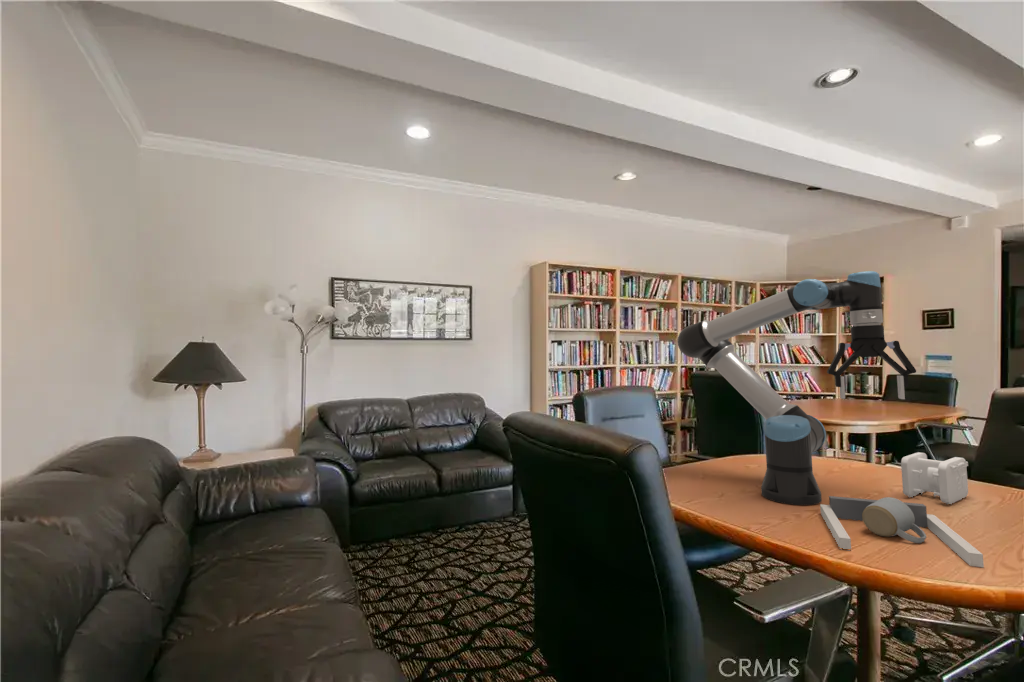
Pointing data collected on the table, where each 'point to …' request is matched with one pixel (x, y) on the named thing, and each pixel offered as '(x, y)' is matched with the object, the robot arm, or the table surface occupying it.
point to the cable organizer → (935, 477)
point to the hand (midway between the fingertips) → (871, 398)
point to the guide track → (966, 551)
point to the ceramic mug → (891, 519)
